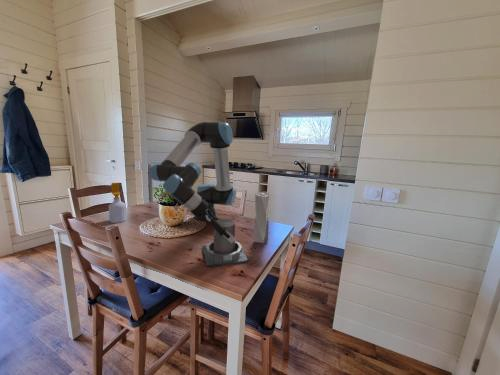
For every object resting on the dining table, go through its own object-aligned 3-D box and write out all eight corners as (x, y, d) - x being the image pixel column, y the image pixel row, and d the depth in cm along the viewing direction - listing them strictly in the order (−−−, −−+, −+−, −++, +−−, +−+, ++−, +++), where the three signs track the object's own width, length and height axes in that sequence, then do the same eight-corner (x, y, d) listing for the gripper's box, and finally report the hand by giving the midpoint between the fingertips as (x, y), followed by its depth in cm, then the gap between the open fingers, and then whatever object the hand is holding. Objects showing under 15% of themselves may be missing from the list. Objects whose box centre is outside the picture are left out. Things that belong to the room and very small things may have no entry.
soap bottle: (110, 224, 127) (107, 184, 123) (108, 219, 134) (105, 181, 130) (127, 221, 133) (125, 183, 128) (125, 217, 140) (122, 180, 135)
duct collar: (202, 247, 104) (202, 240, 103) (237, 244, 110) (237, 236, 109) (206, 267, 87) (206, 258, 87) (248, 262, 93) (248, 253, 92)
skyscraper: (266, 245, 110) (270, 192, 105) (251, 243, 111) (254, 191, 106) (268, 238, 118) (271, 189, 113) (253, 236, 120) (256, 188, 114)
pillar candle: (224, 243, 105) (225, 214, 102) (238, 250, 99) (239, 219, 96) (209, 250, 98) (209, 219, 95) (223, 258, 91) (223, 225, 89)
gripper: (188, 203, 100) (220, 232, 108) (191, 219, 79) (230, 253, 87) (199, 192, 101) (231, 222, 109) (205, 205, 80) (243, 240, 88)
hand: (230, 236), depth 98 cm, fingers open, 10 cm apart
